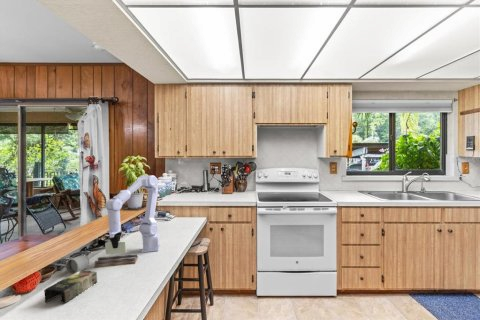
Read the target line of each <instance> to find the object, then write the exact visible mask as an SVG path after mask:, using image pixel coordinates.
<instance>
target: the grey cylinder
mask: <svg viewBox="0 0 480 320" xmlns="http://www.w3.org/2000/svg"><path fill="white" fill-rule="evenodd" d="M89 265H90V259H89V258H88V256H86V255H78V256H75V257H73V258H72V257H71V258H69V259H67V261H66V263H65V272H67V273H68V274H69V275H70V276H71V275H73V274H75V273H77V272H79V271H86V269H87V268H88V267H89Z"/></svg>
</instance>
